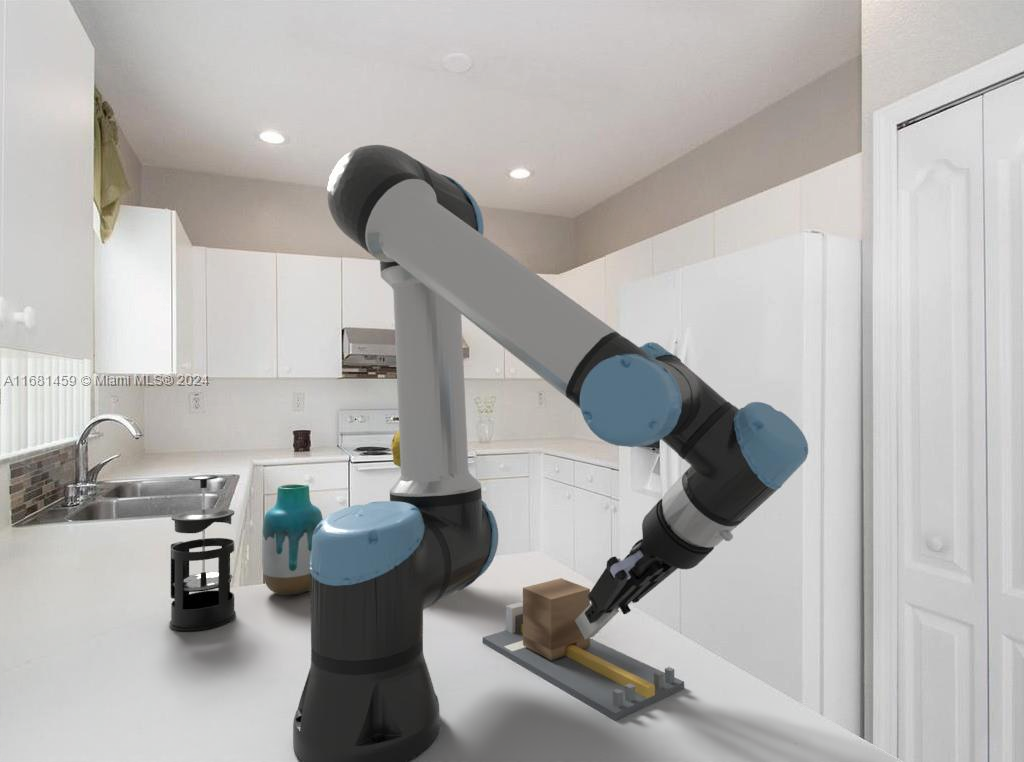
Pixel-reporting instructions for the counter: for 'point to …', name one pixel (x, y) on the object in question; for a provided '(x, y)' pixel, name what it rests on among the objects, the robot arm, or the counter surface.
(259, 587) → the counter surface
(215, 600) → the french press
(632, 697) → the sliding block track
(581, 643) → the cardboard box
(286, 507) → the vase
